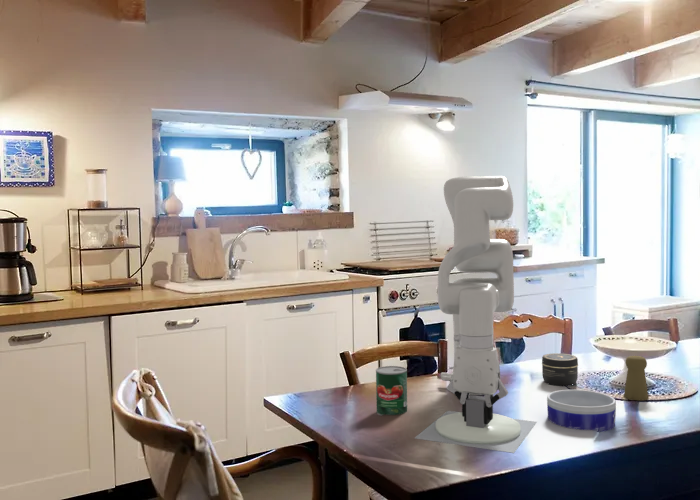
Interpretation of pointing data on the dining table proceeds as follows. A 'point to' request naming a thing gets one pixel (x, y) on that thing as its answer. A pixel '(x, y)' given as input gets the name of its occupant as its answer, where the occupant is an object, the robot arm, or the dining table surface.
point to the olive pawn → (636, 378)
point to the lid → (477, 425)
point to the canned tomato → (391, 390)
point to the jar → (560, 369)
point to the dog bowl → (582, 410)
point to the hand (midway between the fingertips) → (477, 420)
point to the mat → (505, 446)
